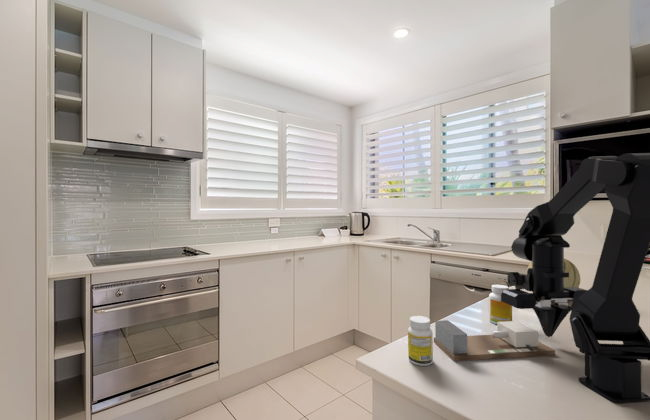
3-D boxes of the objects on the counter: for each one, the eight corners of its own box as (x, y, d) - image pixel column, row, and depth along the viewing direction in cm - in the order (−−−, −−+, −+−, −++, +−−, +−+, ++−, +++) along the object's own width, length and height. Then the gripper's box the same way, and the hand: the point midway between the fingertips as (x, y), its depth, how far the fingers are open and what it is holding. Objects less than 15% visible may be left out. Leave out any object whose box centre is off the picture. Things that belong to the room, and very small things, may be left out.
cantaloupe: (520, 297, 105) (520, 253, 105) (532, 289, 115) (532, 249, 115) (576, 307, 94) (575, 258, 94) (584, 298, 104) (583, 253, 104)
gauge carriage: (517, 334, 71) (517, 320, 71) (545, 350, 63) (545, 334, 63) (485, 336, 70) (484, 322, 70) (509, 352, 62) (509, 336, 62)
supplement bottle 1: (414, 353, 65) (413, 313, 65) (436, 359, 62) (436, 318, 62) (404, 361, 62) (403, 319, 62) (427, 369, 59) (427, 325, 59)
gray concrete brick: (448, 337, 70) (447, 320, 70) (467, 354, 63) (467, 334, 63) (435, 338, 70) (435, 320, 70) (453, 354, 62) (453, 335, 62)
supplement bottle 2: (515, 327, 79) (515, 289, 79) (492, 325, 80) (492, 288, 80) (507, 319, 84) (507, 284, 84) (486, 318, 85) (486, 283, 85)
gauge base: (523, 337, 73) (523, 332, 73) (555, 355, 64) (555, 349, 64) (433, 341, 71) (433, 336, 71) (453, 361, 62) (453, 355, 62)
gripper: (555, 259, 77) (556, 321, 77) (485, 260, 76) (486, 324, 76) (599, 267, 66) (600, 339, 66) (518, 269, 65) (519, 344, 65)
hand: (548, 335), depth 68 cm, fingers closed
